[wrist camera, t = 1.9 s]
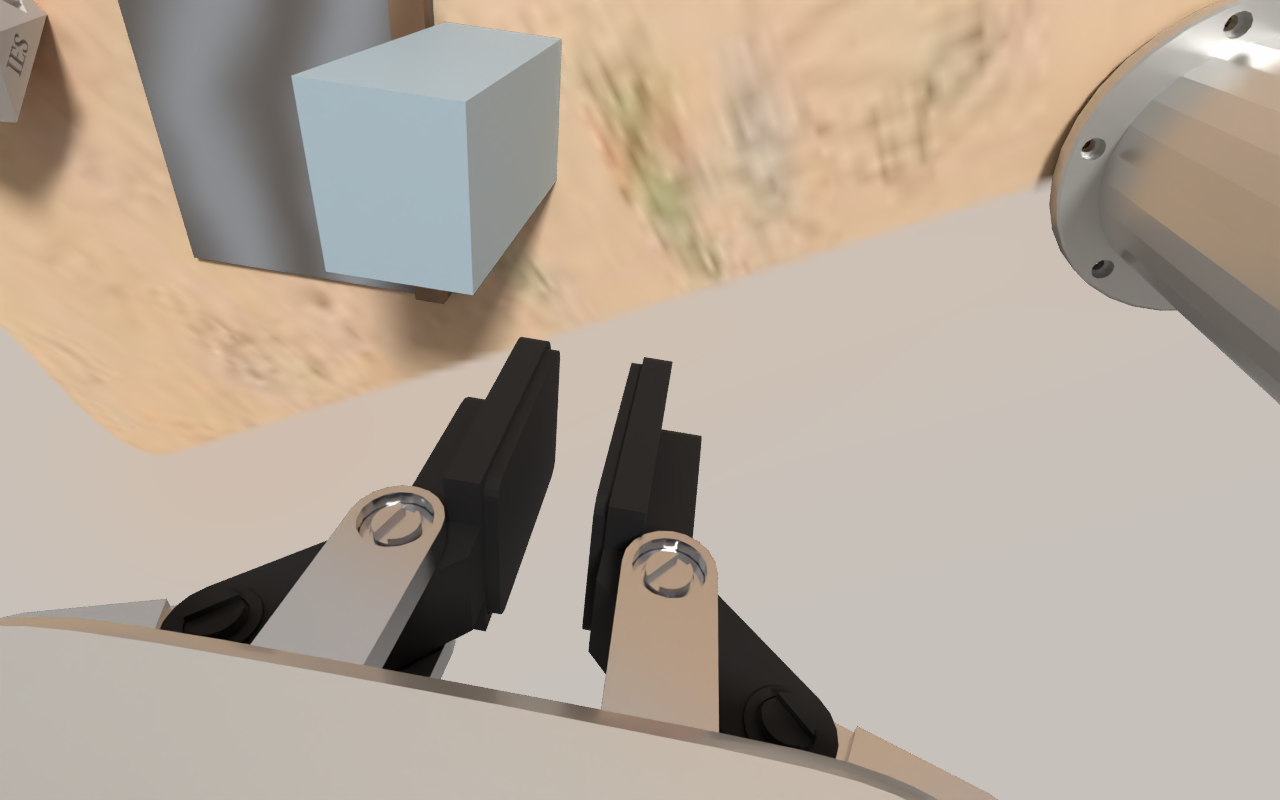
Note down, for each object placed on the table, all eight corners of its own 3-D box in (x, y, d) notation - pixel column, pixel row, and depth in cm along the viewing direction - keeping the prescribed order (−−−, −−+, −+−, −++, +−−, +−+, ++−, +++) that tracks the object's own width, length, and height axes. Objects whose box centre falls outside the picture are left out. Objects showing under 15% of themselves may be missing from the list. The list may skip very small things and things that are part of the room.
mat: (420, -199, 25) (409, -203, 24) (450, 295, 36) (443, 303, 36) (52, -247, 25) (29, -253, 24) (198, 254, 37) (186, 262, 36)
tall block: (561, 38, 29) (465, 101, 19) (556, 180, 32) (473, 295, 22) (445, 22, 29) (291, 75, 19) (452, 164, 32) (325, 271, 23)
